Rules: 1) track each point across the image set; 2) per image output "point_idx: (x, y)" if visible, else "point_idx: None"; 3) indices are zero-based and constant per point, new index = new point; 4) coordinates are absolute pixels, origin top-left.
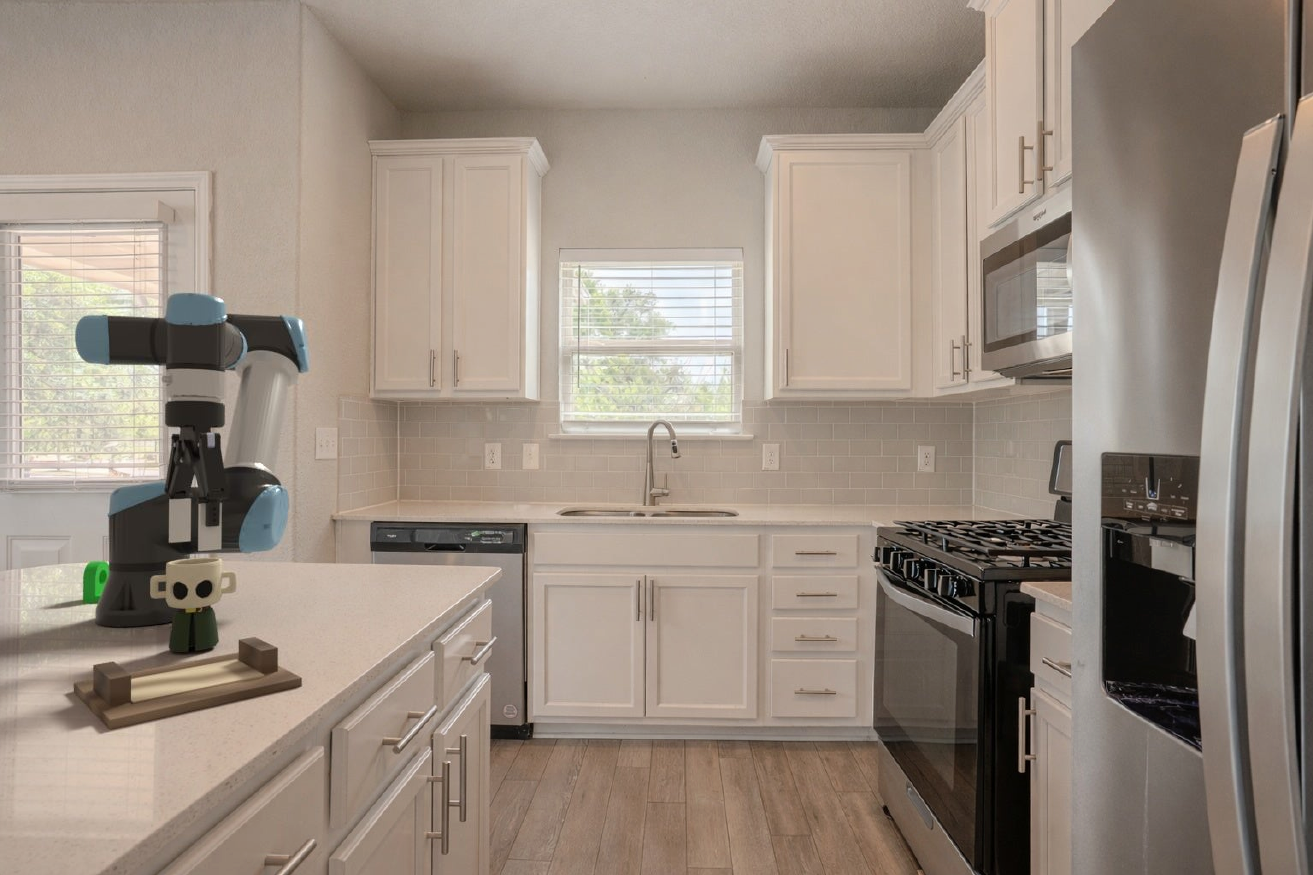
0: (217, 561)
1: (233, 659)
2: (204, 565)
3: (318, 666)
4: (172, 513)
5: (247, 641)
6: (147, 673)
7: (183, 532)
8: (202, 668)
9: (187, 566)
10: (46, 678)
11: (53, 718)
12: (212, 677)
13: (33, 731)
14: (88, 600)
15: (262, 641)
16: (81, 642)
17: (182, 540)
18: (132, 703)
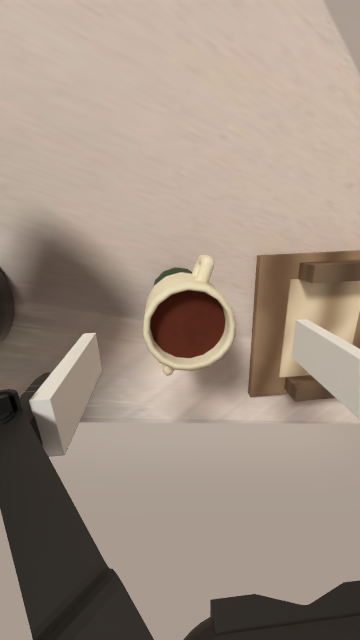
0: (222, 298)
1: (284, 280)
2: (235, 323)
3: (351, 207)
4: (80, 413)
5: (328, 278)
6: (268, 351)
7: (93, 357)
8: (298, 313)
9: (228, 347)
10: (190, 404)
11: (306, 405)
12: (334, 313)
13: (323, 414)
14: None
15: (342, 265)
16: None
17: (98, 350)
18: None
